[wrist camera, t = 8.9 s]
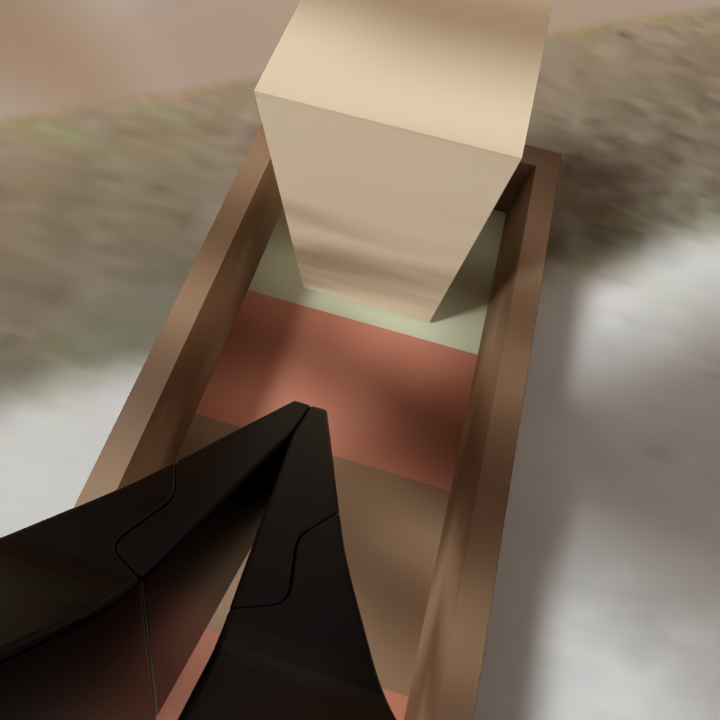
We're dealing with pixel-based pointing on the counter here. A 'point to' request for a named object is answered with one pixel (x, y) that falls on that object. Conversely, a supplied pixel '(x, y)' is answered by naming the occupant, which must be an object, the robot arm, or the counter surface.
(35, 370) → the counter surface
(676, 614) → the counter surface
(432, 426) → the tray
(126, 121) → the counter surface
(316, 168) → the sliding block
